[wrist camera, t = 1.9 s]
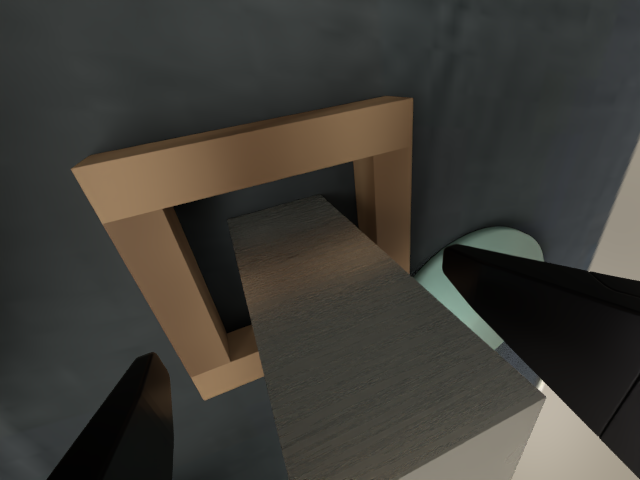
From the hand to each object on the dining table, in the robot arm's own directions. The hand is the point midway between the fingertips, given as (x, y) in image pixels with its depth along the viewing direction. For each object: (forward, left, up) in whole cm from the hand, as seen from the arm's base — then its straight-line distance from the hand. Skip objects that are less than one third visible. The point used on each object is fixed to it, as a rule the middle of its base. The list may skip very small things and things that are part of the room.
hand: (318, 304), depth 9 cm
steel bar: (0, 0, -4) cm, 4 cm away
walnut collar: (0, 0, -4) cm, 4 cm away
